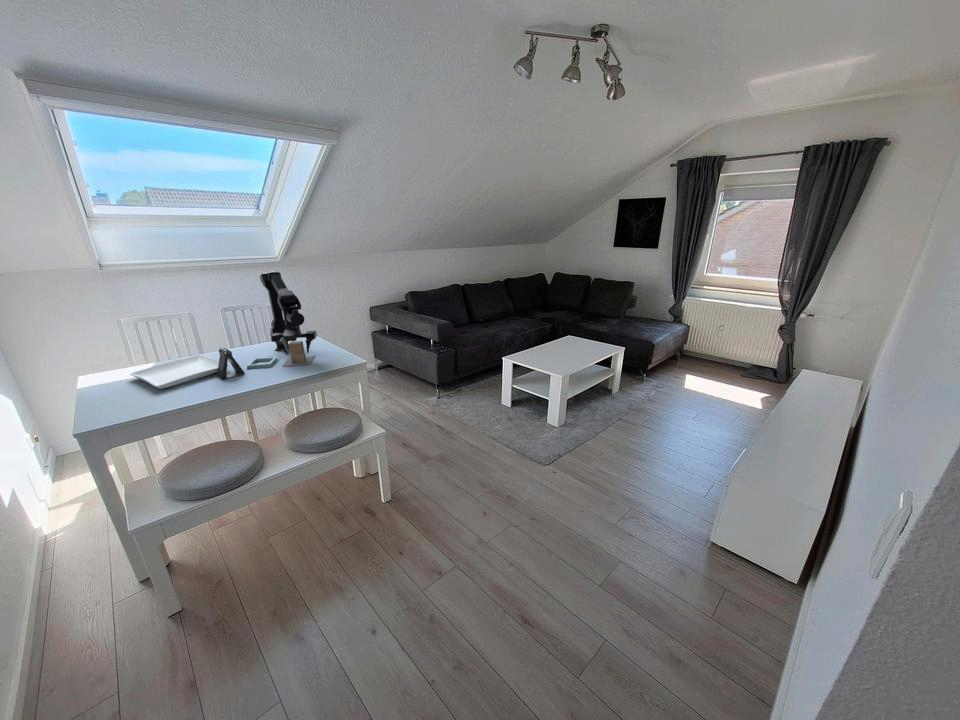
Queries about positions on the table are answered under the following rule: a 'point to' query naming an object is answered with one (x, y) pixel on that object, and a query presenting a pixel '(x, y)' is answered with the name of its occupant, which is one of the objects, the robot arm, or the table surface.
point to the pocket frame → (253, 365)
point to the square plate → (178, 371)
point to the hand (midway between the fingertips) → (297, 353)
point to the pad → (306, 362)
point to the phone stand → (223, 365)
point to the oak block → (297, 351)
